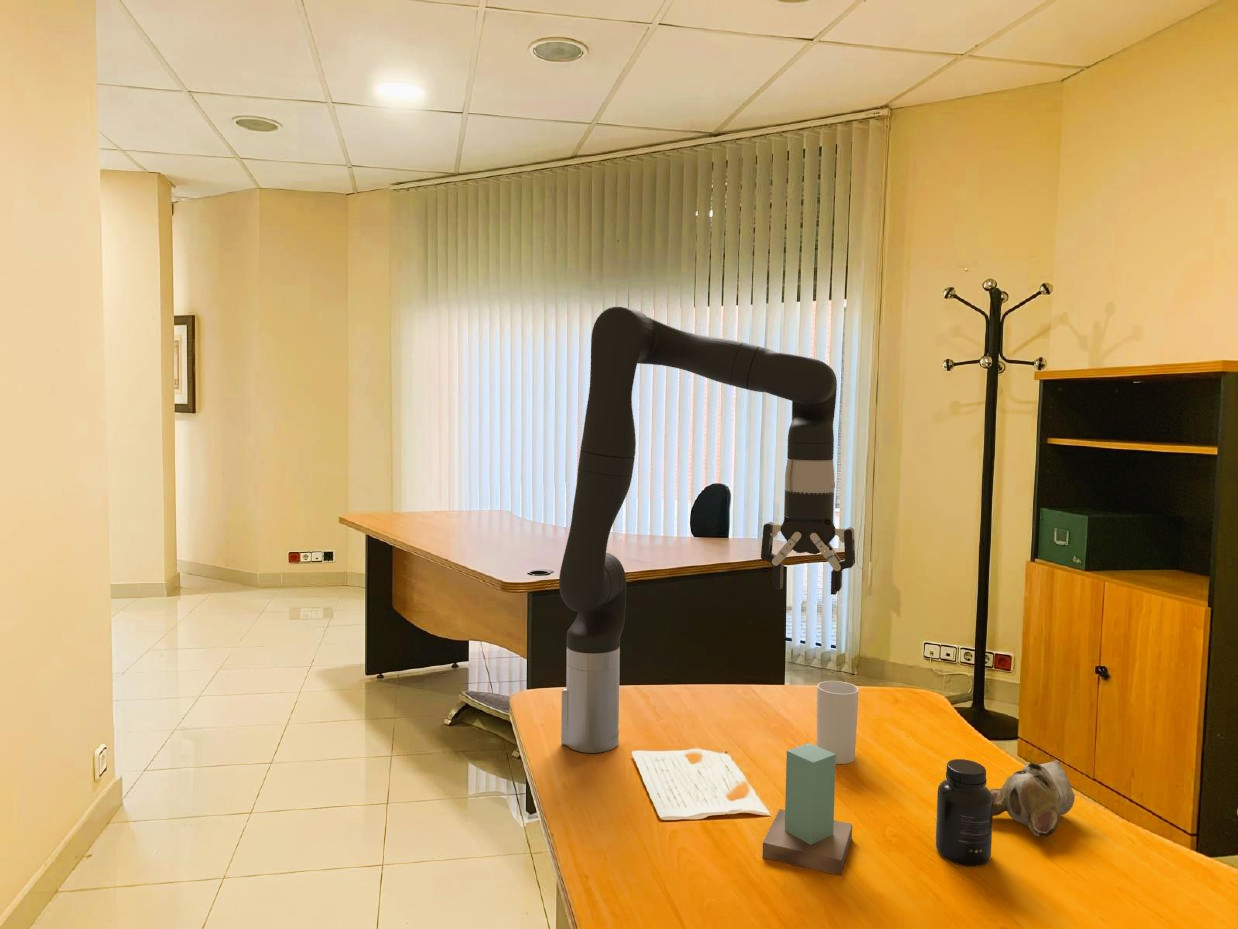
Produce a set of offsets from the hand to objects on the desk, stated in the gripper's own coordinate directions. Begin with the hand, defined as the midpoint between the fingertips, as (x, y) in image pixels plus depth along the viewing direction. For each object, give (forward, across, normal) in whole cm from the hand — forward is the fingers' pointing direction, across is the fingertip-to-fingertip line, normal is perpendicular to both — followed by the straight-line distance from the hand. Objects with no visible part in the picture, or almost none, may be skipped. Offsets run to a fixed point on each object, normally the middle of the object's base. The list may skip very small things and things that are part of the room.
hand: (806, 591), depth 129 cm
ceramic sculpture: (+30, +33, 0) cm, 45 cm away
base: (+30, +5, -21) cm, 37 cm away
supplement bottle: (+30, +24, -14) cm, 41 cm away
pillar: (+28, +5, -21) cm, 35 cm away
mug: (+30, +4, +12) cm, 33 cm away
